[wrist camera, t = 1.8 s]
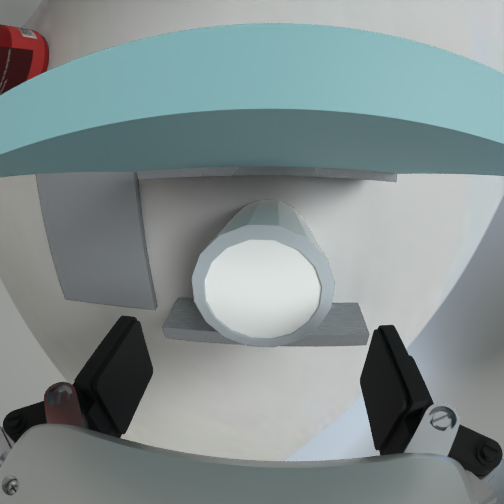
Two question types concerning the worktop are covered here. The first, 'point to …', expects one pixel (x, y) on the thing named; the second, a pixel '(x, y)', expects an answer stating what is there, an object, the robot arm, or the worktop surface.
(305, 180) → the worktop surface
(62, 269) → the mat
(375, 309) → the worktop surface
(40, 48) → the canned food
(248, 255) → the shot glass
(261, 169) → the grey flat bars
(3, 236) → the worktop surface
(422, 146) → the panel
